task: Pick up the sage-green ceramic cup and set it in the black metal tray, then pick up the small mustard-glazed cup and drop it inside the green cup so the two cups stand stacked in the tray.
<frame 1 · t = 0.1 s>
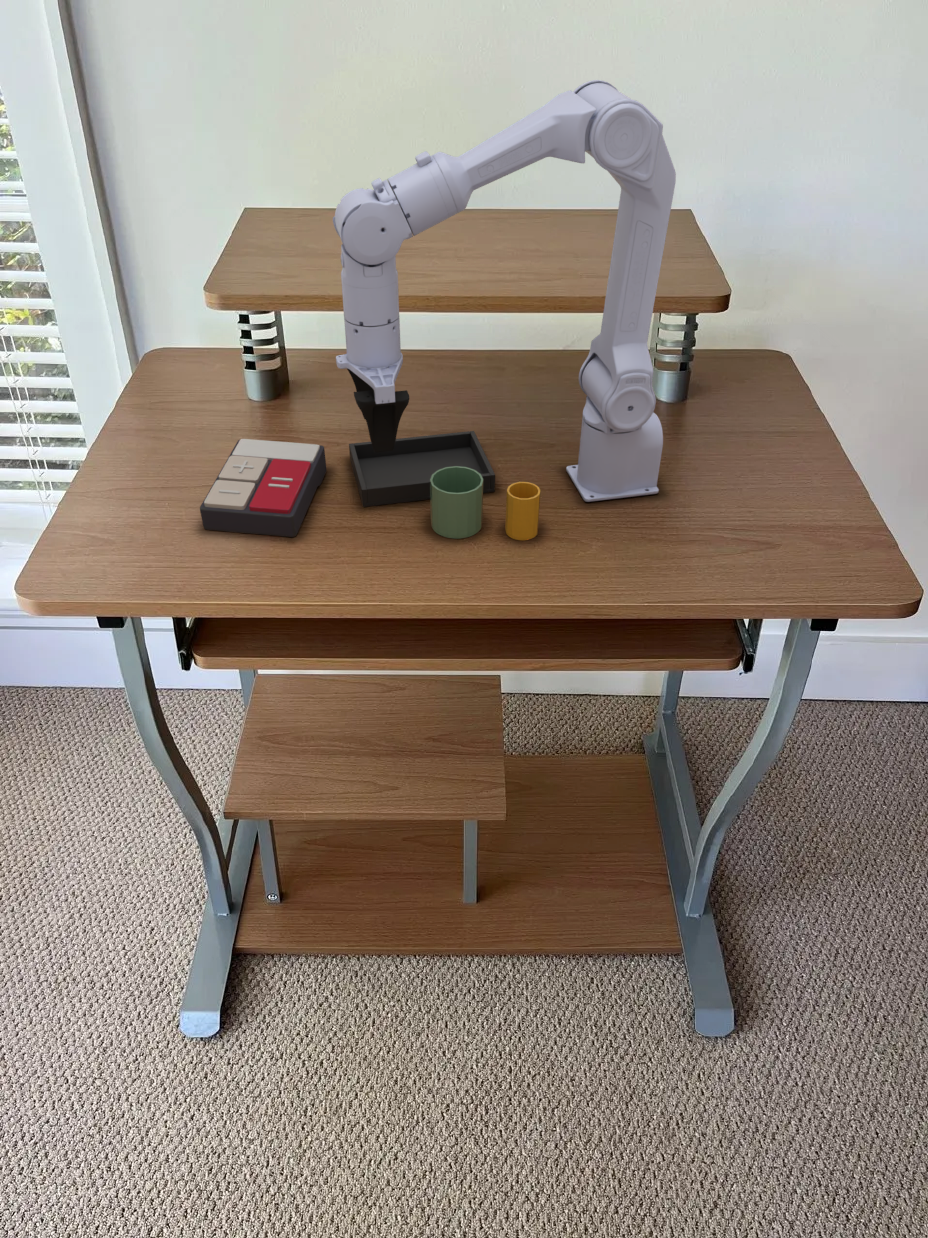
hand: (378, 433, 111), 10 cm above the table, tool pointing down, fingers open, 7 cm apart
green cup: (456, 524, 115), on the table
mustard cup: (521, 531, 114), on the table
calculator: (268, 500, 119), on the table
tray: (420, 475, 123), on the table
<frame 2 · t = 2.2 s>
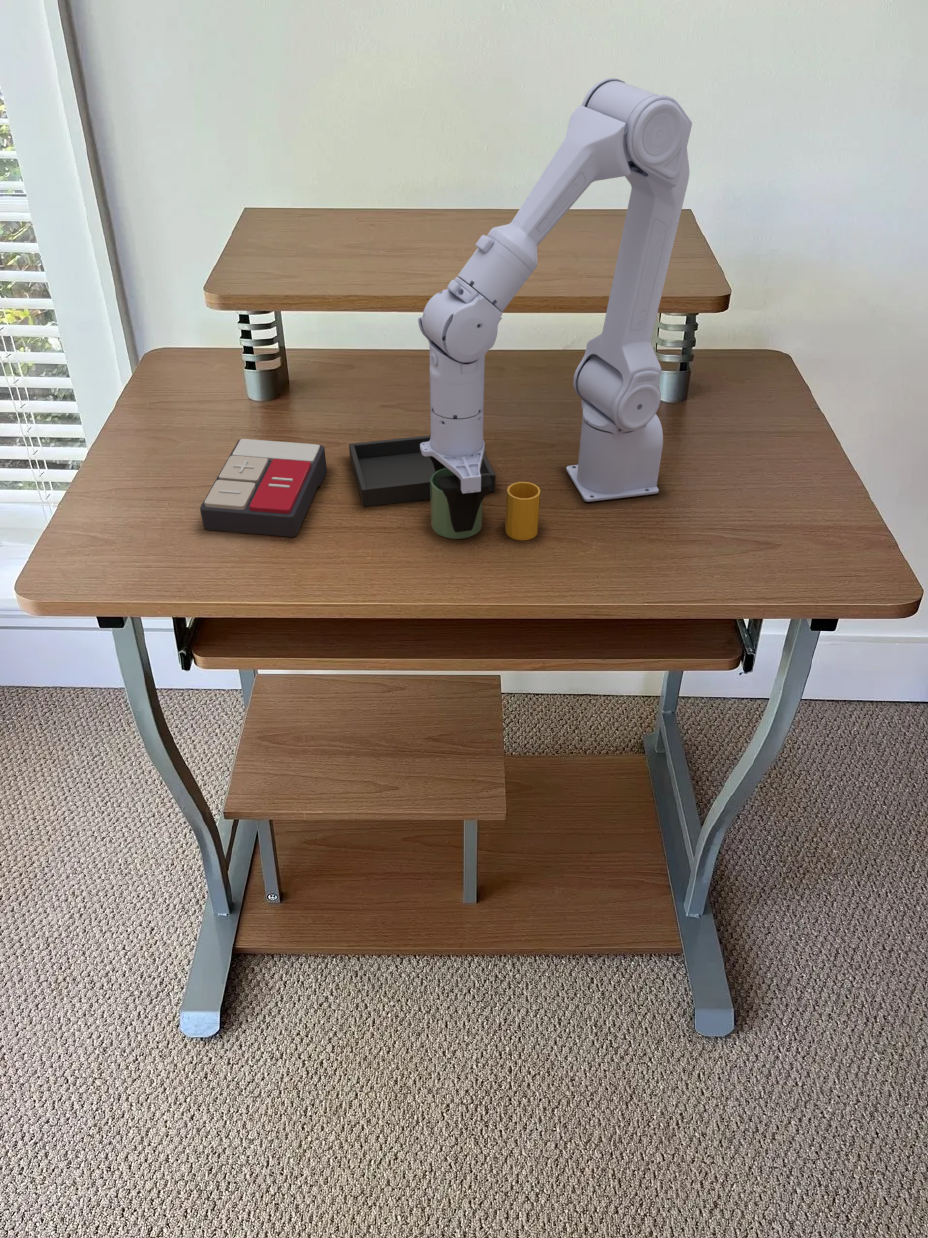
hand: (456, 513, 114), 1 cm above the table, tool pointing down, fingers closed on green cup, 6 cm apart
green cup: (456, 524, 115), on the table, touching gripper
everything else where it was.
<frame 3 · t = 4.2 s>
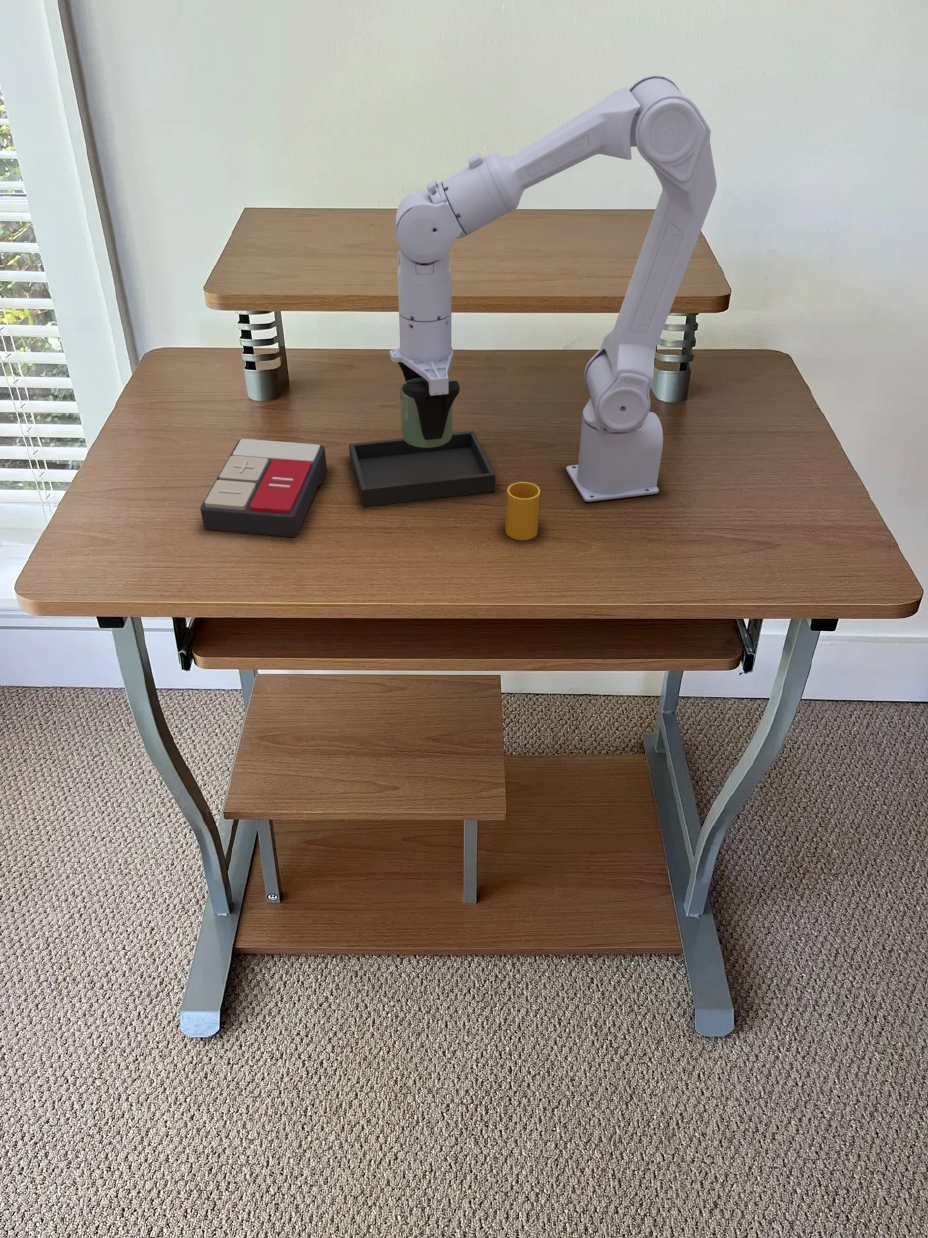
hand: (427, 424, 116), 8 cm above the table, tool pointing down, fingers closed on green cup, 6 cm apart
green cup: (427, 435, 117), point 7 cm above the table, touching gripper
everything else where it was.
when the fingers open (2 cm above the table, at t = 6.7 s): green cup stays where it is, resting on tray.
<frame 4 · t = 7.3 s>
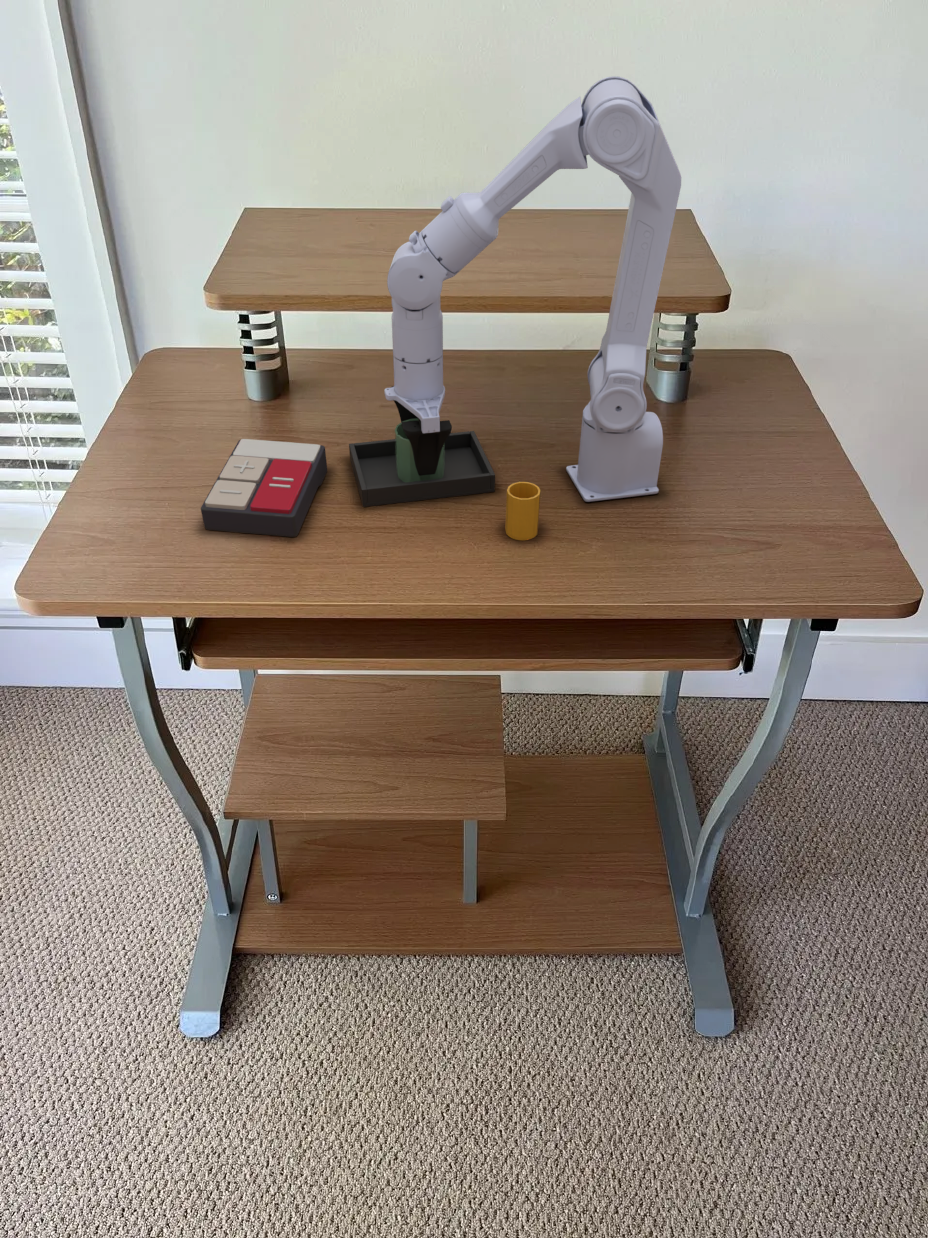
hand: (420, 457, 121), 3 cm above the table, tool pointing down, fingers open, 7 cm apart
green cup: (420, 472, 123), resting on tray
everything else where it was.
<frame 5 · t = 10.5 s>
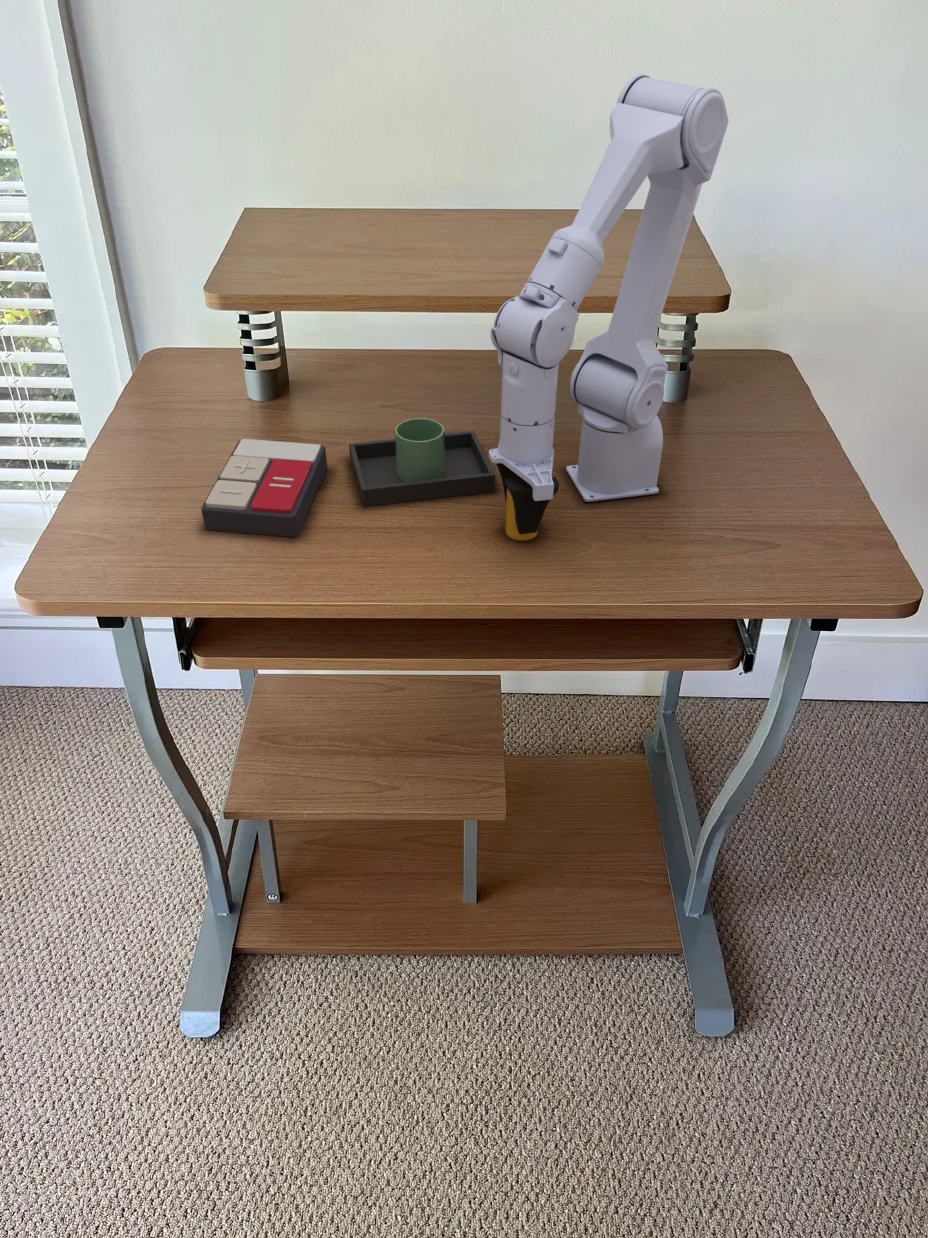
hand: (522, 521, 113), 1 cm above the table, tool pointing down, fingers closed on mustard cup, 4 cm apart
mustard cup: (521, 531, 114), on the table, touching gripper
everything else where it was.
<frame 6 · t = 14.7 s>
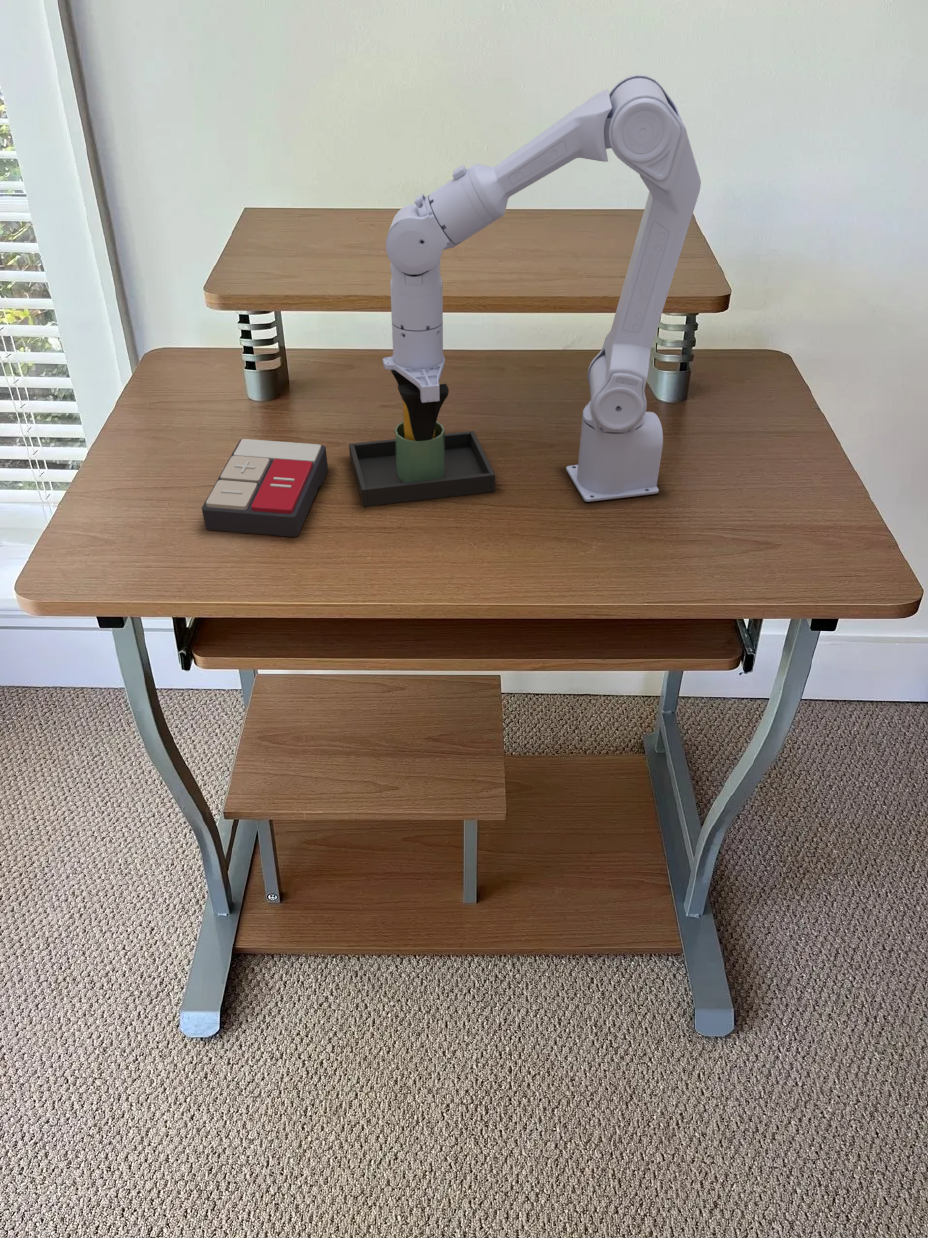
hand: (419, 429, 119), 6 cm above the table, tool pointing down, fingers closed on mustard cup, 4 cm apart
green cup: (420, 472, 123), resting on tray, touching gripper
mustard cup: (419, 440, 120), point 5 cm above the table, touching gripper
everything else where it was.
when the fingers open (8 cm above the table, at t = 25.0 s): mustard cup drops 6 cm, resting on green cup.
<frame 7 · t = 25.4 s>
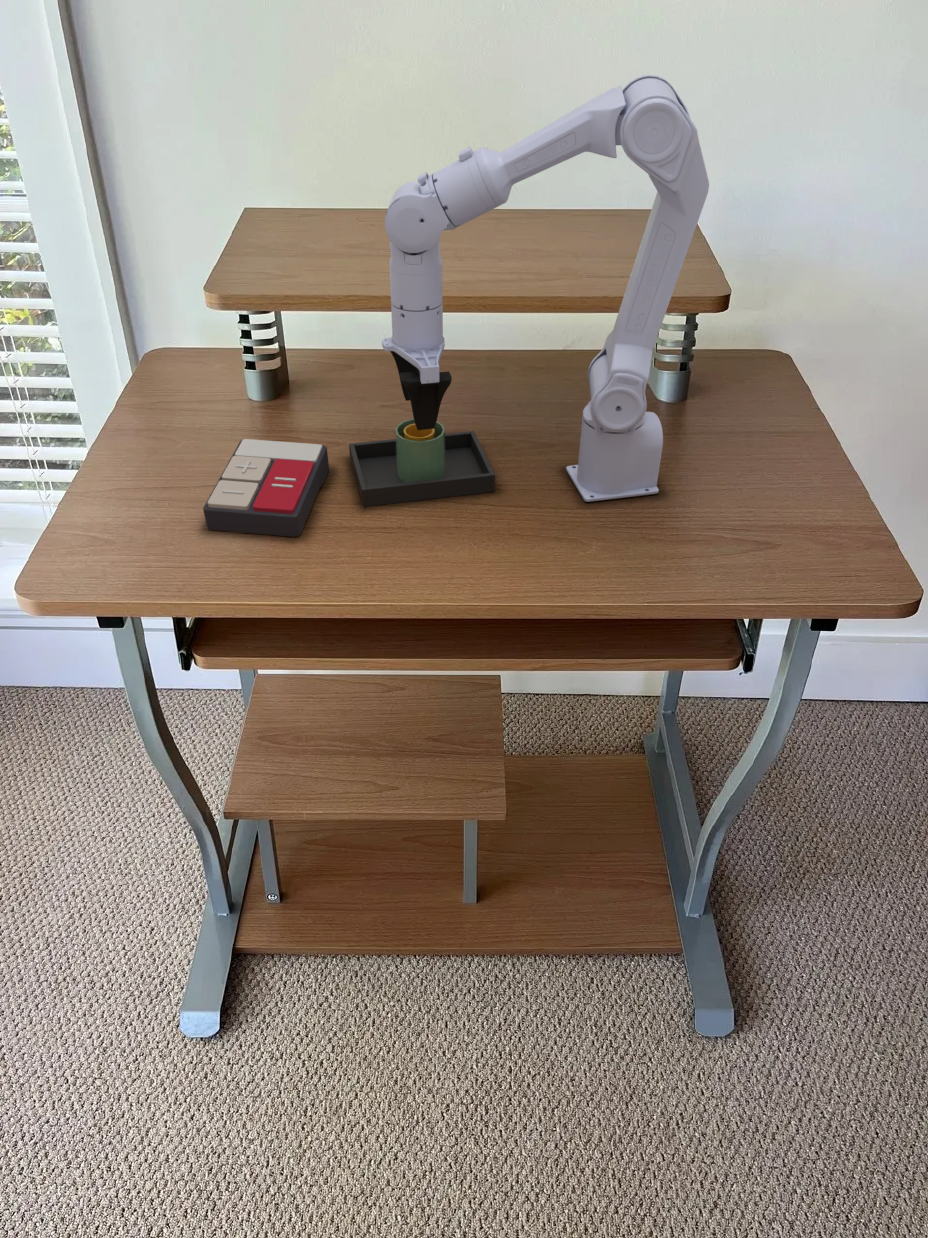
hand: (419, 413, 117), 9 cm above the table, tool pointing down, fingers open, 7 cm apart
green cup: (421, 472, 123), resting on tray, touching mustard cup
mustard cup: (419, 469, 122), point 1 cm above the table, touching green cup
everything else where it was.
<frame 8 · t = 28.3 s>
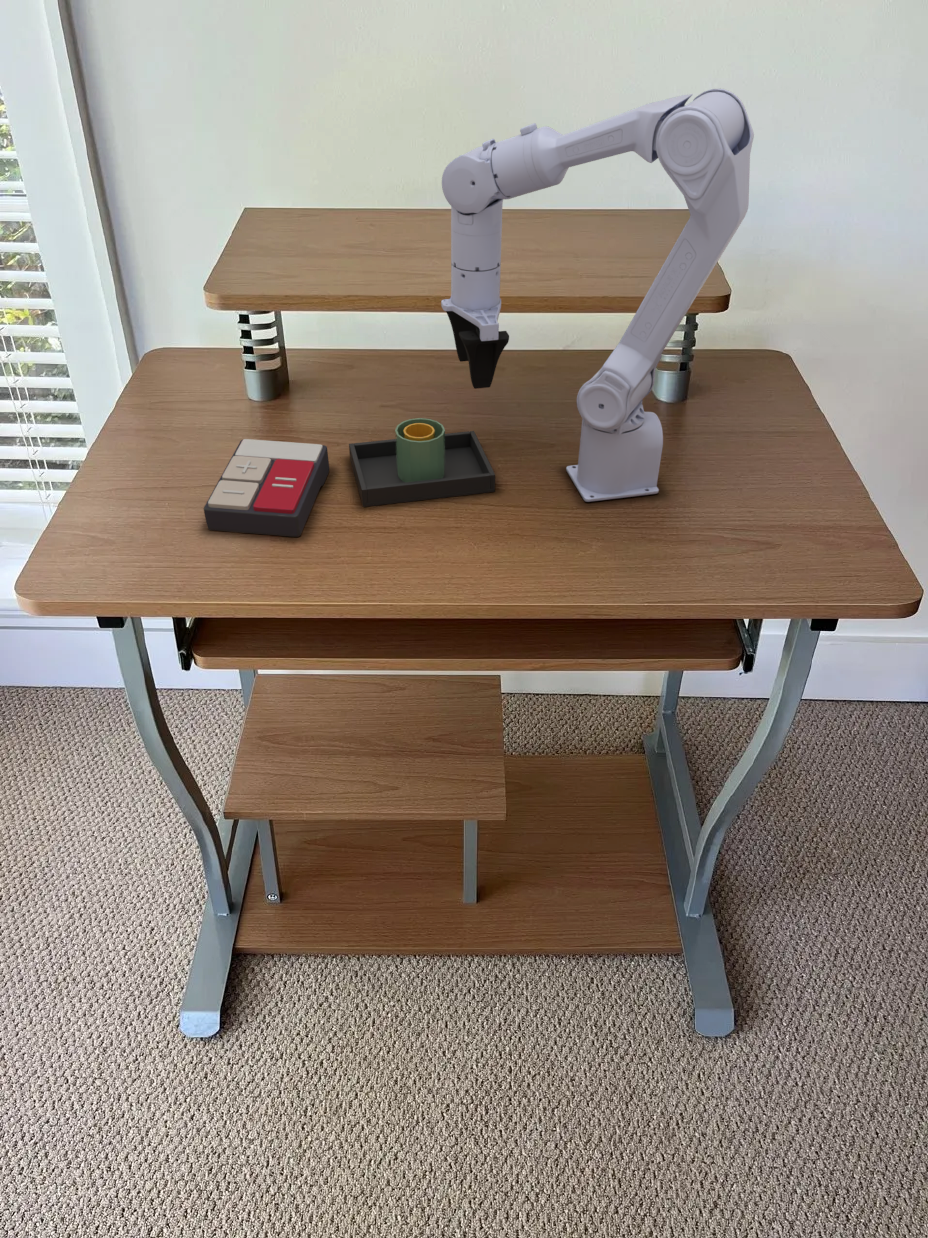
hand: (474, 372, 122), 10 cm above the table, tool pointing down, fingers open, 7 cm apart
nothing on the table moved.
at the end: green cup inside the target area in the tray (0.0 cm from its centre), point 0.4 cm above the tray's base; mustard cup 0.1 cm off-centre in the green cup, point 0.4 cm above the green cup's base; green cup tilted 0° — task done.
